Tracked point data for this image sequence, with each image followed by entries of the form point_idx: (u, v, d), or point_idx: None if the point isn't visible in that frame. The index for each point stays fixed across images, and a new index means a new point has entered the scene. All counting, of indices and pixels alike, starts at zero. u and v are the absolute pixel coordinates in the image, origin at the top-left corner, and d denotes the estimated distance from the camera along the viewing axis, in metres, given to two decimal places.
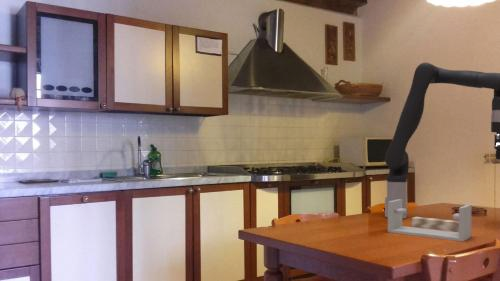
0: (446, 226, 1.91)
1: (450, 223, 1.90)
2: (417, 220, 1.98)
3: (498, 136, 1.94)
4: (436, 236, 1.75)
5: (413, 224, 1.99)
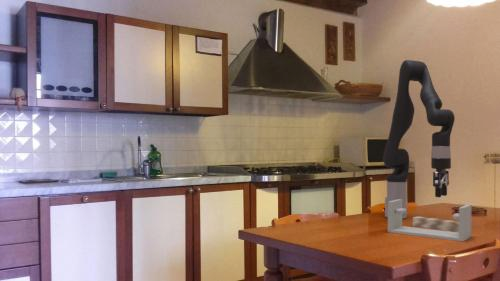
0: (445, 226, 1.91)
1: (448, 223, 1.90)
2: (417, 220, 1.99)
3: (436, 173, 1.90)
4: (436, 236, 1.75)
5: (414, 224, 2.01)
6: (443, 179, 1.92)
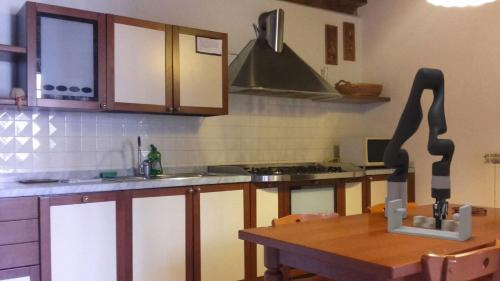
0: (444, 226, 1.91)
1: (447, 223, 1.90)
2: (418, 219, 2.00)
3: (436, 206, 1.90)
4: (436, 236, 1.75)
5: (414, 223, 2.02)
6: (443, 210, 1.92)
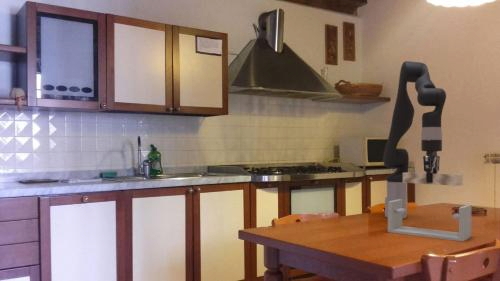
0: (435, 179, 1.79)
1: (439, 175, 1.78)
2: (407, 174, 1.88)
3: (427, 158, 1.78)
4: (436, 236, 1.75)
5: (404, 179, 1.90)
6: (434, 163, 1.80)
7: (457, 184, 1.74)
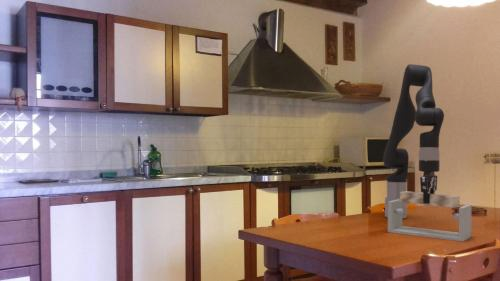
0: (432, 200, 1.79)
1: (436, 196, 1.77)
2: (405, 194, 1.88)
3: (424, 179, 1.77)
4: (436, 236, 1.75)
5: (401, 198, 1.89)
6: (431, 183, 1.80)
7: (454, 206, 1.73)
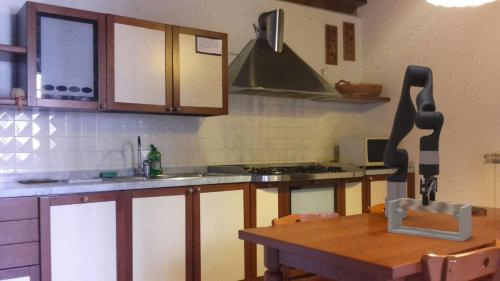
0: (432, 207, 1.79)
1: (436, 204, 1.77)
2: (404, 201, 1.87)
3: (423, 180, 1.77)
4: (436, 236, 1.75)
5: (400, 205, 1.89)
6: (431, 186, 1.79)
7: (454, 213, 1.73)
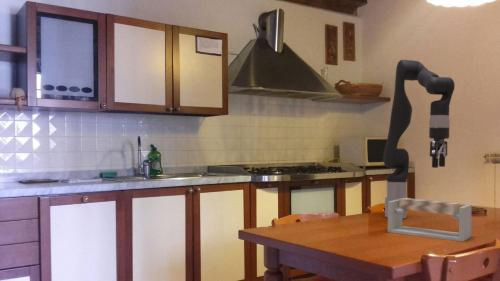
0: (432, 207, 1.79)
1: (436, 204, 1.77)
2: (404, 201, 1.87)
3: (434, 143, 1.83)
4: (436, 236, 1.75)
5: (400, 205, 1.89)
6: (441, 149, 1.86)
7: (454, 213, 1.73)
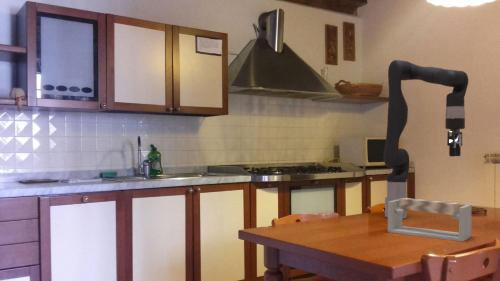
0: (432, 207, 1.79)
1: (436, 204, 1.77)
2: (404, 201, 1.87)
3: (451, 133, 1.92)
4: (436, 236, 1.75)
5: (400, 205, 1.89)
6: (457, 139, 1.94)
7: (454, 213, 1.73)
